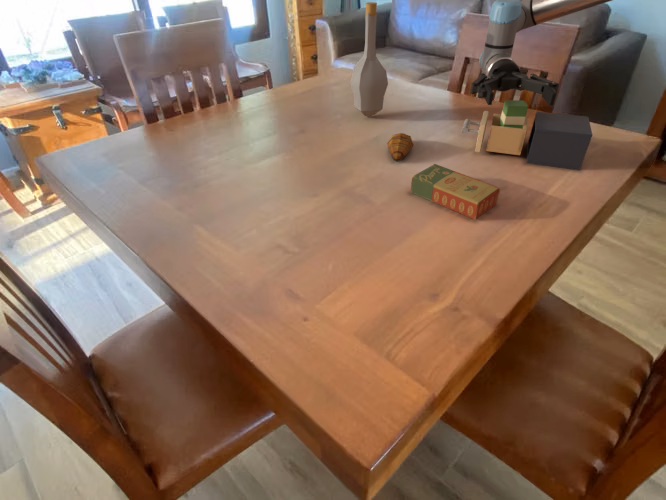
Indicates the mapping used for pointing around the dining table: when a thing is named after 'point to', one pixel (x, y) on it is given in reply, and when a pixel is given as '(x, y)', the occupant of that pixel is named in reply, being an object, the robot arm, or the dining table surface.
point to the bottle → (369, 71)
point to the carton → (455, 190)
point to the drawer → (498, 135)
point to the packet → (513, 114)
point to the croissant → (399, 146)
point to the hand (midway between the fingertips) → (521, 99)
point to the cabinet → (559, 140)
